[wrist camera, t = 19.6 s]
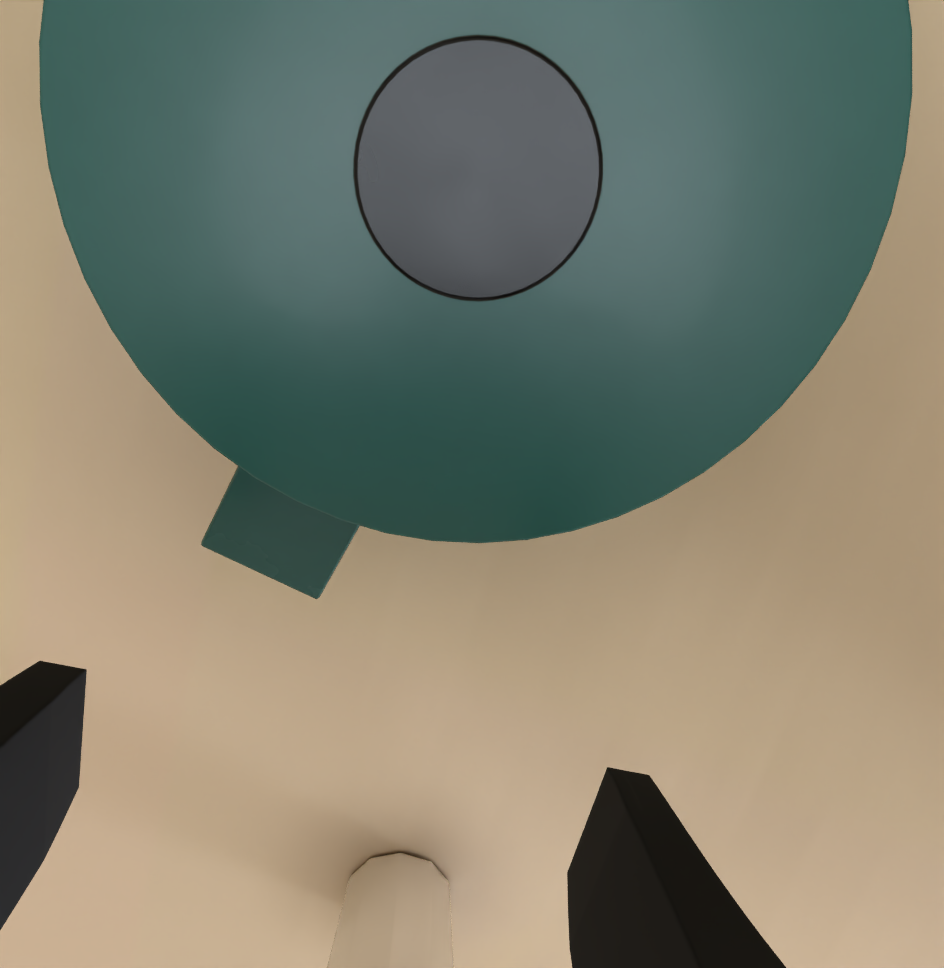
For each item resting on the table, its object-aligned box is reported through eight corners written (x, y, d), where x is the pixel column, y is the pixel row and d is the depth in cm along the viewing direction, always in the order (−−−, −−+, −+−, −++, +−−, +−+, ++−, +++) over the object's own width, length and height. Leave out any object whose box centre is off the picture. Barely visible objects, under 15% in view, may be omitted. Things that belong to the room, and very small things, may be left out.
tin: (936, -101, 16) (1201, -231, 10) (506, 558, 22) (519, 717, 16) (428, -488, 14) (397, -932, 8) (97, 353, 20) (-62, 450, 14)
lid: (1055, -17, 12) (1443, -113, 7) (595, 619, 16) (648, 826, 11) (274, -616, 9) (79, -1349, 5) (-28, 310, 14) (-293, 406, 9)
